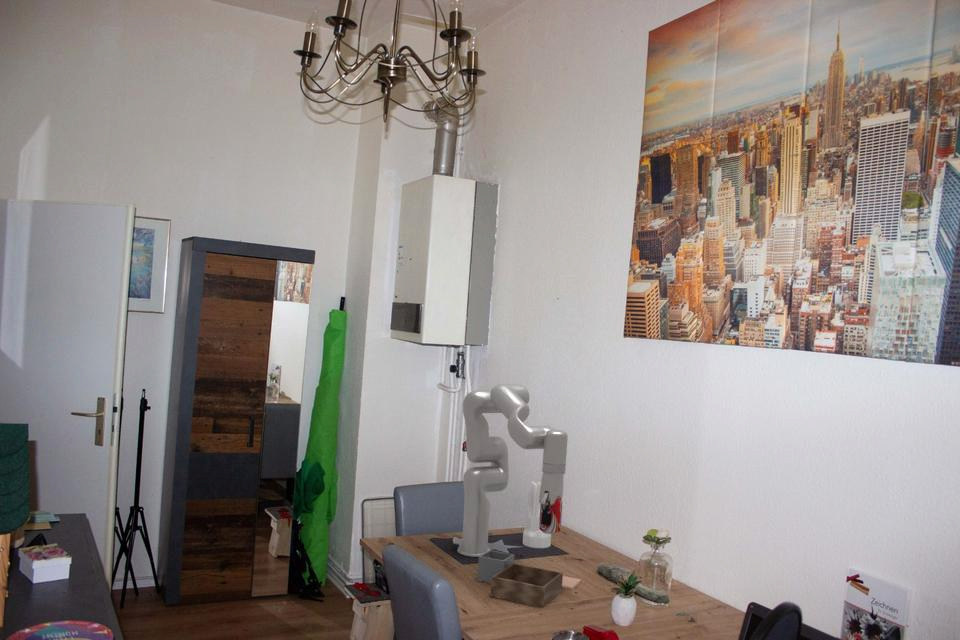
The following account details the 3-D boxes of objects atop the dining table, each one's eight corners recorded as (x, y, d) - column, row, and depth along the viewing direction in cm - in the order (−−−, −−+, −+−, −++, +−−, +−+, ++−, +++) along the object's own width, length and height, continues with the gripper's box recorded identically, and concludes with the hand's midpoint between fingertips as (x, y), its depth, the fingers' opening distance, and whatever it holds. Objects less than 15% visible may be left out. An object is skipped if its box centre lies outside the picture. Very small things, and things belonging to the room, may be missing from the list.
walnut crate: (490, 596, 250) (491, 576, 250) (511, 581, 266) (513, 563, 266) (543, 607, 243) (544, 587, 243) (561, 591, 259) (562, 573, 259)
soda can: (558, 536, 258) (561, 499, 257) (537, 533, 259) (539, 496, 259) (561, 530, 264) (564, 494, 264) (540, 528, 266) (543, 492, 266)
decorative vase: (532, 539, 320) (536, 476, 320) (555, 544, 314) (559, 480, 314) (517, 544, 312) (521, 479, 312) (540, 550, 305) (544, 484, 305)
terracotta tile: (542, 584, 265) (543, 581, 265) (553, 576, 274) (553, 573, 274) (571, 590, 261) (572, 587, 261) (581, 581, 270) (581, 579, 270)
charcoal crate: (477, 580, 264) (478, 556, 265) (488, 573, 273) (489, 550, 273) (502, 585, 261) (503, 561, 261) (512, 578, 269) (514, 554, 269)
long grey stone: (651, 609, 252) (676, 608, 256) (653, 593, 252) (678, 591, 256) (588, 569, 283) (611, 569, 287) (590, 555, 283) (613, 554, 287)
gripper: (552, 463, 271) (549, 515, 271) (532, 470, 256) (529, 526, 256) (573, 466, 268) (570, 519, 268) (555, 473, 252) (551, 530, 252)
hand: (550, 522), depth 262 cm, fingers closed on soda can, 7 cm apart
